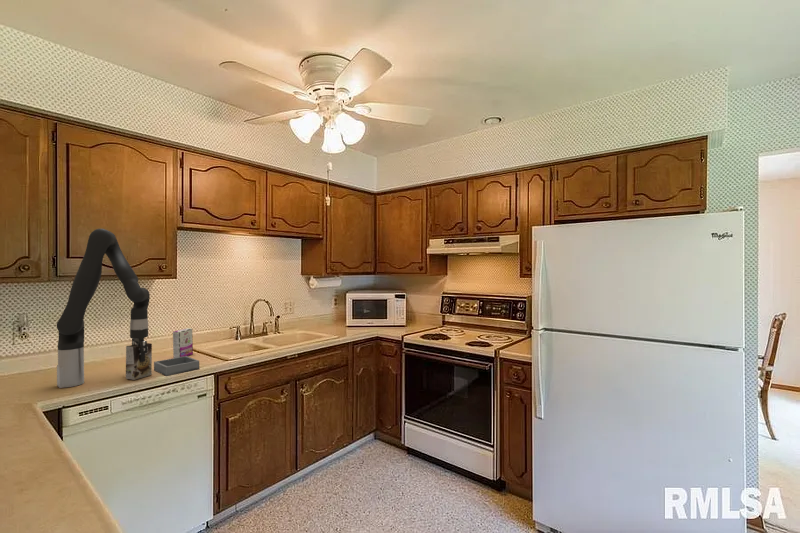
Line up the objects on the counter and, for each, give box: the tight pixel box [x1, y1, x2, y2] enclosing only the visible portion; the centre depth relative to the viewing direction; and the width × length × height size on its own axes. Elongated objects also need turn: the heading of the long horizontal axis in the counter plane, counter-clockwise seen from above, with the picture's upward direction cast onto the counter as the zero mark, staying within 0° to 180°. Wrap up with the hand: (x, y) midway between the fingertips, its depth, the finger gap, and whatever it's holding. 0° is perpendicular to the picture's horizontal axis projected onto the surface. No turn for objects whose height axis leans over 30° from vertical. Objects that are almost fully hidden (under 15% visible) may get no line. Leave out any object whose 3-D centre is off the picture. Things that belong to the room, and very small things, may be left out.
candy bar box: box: [172, 327, 194, 358], centre depth 229 cm, size 11×5×16 cm, turn 171°
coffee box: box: [125, 342, 153, 381], centre depth 187 cm, size 9×6×16 cm
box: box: [153, 356, 200, 377], centre depth 201 cm, size 16×17×4 cm
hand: (139, 360), depth 187 cm, fingers closed on coffee box, 8 cm apart
